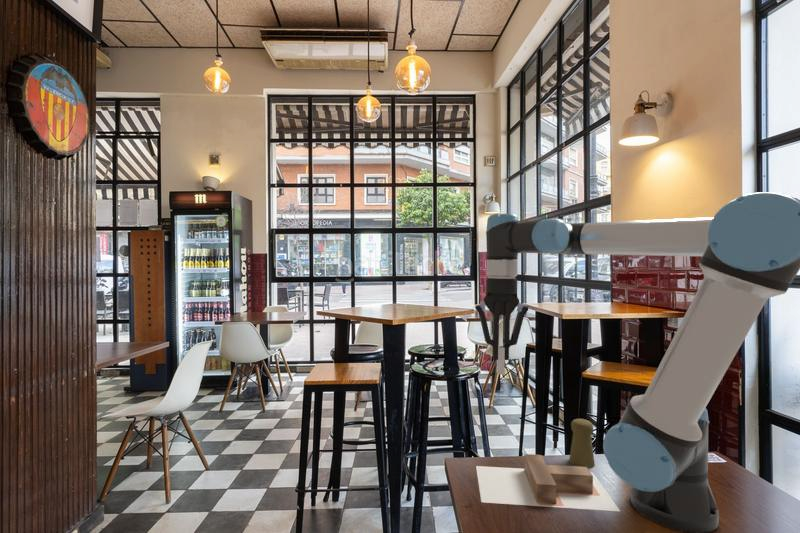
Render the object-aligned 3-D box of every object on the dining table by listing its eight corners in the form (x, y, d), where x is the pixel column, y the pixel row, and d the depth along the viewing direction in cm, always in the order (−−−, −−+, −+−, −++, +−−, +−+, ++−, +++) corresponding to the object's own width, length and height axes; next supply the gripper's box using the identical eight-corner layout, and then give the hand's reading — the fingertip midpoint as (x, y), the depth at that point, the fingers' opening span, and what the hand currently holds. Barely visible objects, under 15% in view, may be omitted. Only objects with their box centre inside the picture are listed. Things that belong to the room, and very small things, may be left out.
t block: (579, 473, 100) (579, 456, 100) (601, 507, 86) (601, 487, 86) (524, 470, 102) (524, 454, 102) (536, 502, 88) (536, 483, 88)
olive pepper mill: (597, 470, 102) (598, 425, 102) (571, 467, 103) (571, 423, 103) (591, 459, 108) (591, 417, 108) (567, 456, 109) (567, 415, 109)
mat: (592, 473, 101) (592, 472, 101) (620, 512, 85) (620, 511, 85) (475, 466, 104) (475, 465, 104) (481, 503, 88) (481, 502, 88)
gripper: (525, 277, 105) (523, 369, 106) (473, 276, 106) (472, 368, 107) (532, 278, 98) (530, 378, 98) (476, 277, 99) (475, 376, 99)
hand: (500, 372), depth 102 cm, fingers closed
